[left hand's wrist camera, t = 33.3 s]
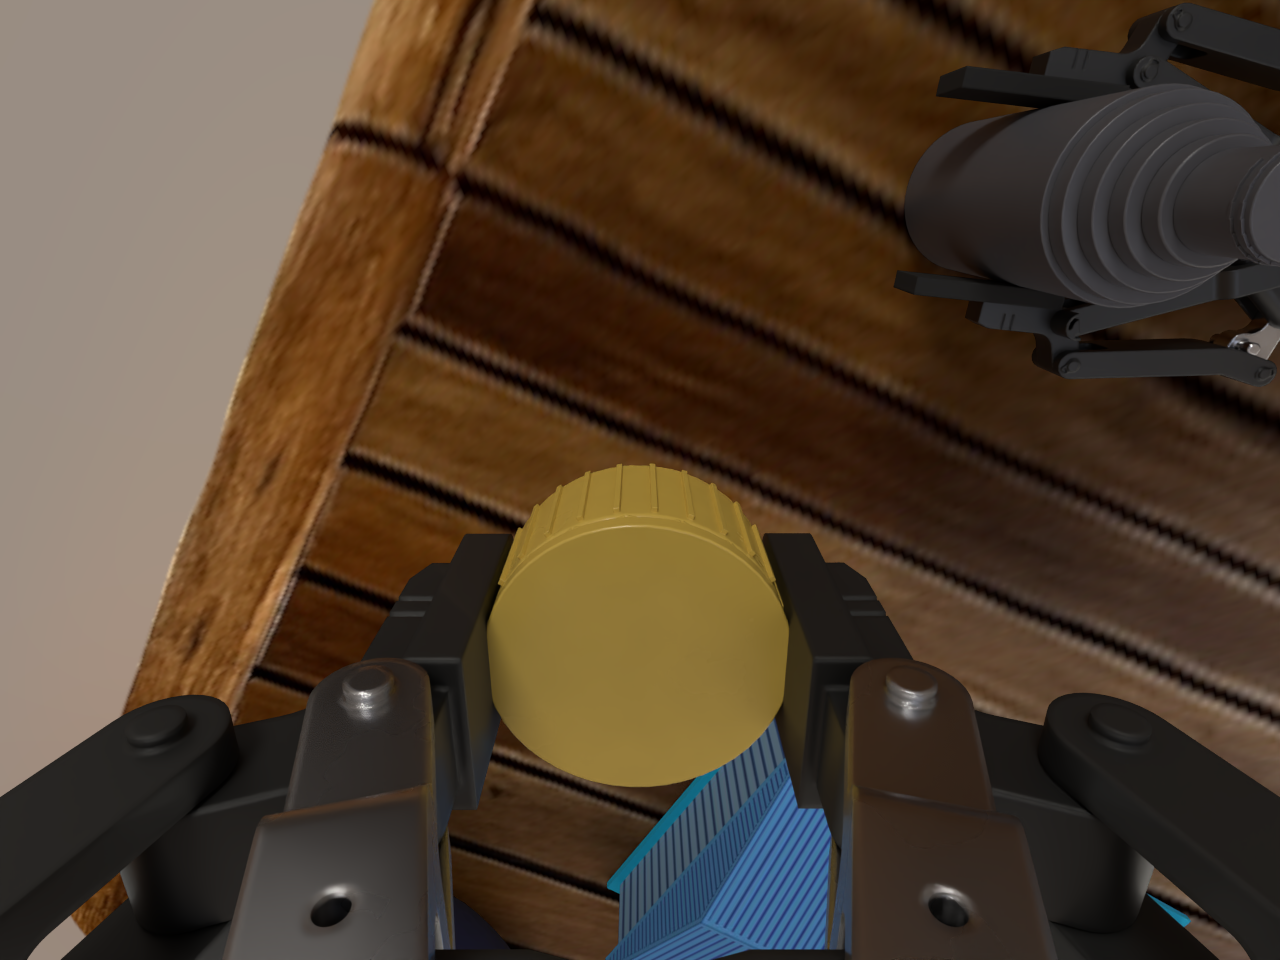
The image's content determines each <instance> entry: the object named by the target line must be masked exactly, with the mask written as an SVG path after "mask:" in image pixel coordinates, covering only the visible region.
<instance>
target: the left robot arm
mask: <svg viewBox="0 0 1280 960" xmlns="http://www.w3.org/2000/svg"><path fill="white" fill-rule="evenodd" d="M513 541H514V539H513V536H512V534H466V535H465V536H464V537H463V539H462V541H461V543H460V545H459V547H458V549H457V551H456V553H455V555H454V557H453V559H452V561H451V563H432V564H430V565H429V566H427V567H426V568H425V569H423V570H422V571H420V572H419V573H418V574H416V575H415V576H413V577H412V578H410V579H409V581H408V583H407V584H406V586H405V588H404V590H403V591H402V593H401V595H400V596H399V601H396V603H395V605H394V606H393V608H392V610H391V611H390V617H387V618H386V620H385V622H384V623H383V625H382V627H381V628H380V630H379V632H378V633H377V635H376V637H375V638H374V640H373V642H372V643H371V645H370V647H369V648H368V650H367V652H366V653H365V655H364V657H363V659H362V660H361V662H357V663H354V664H351V665H349V666H346V667H344V668H342V669H340V670H338V671H336V672H334V673H332V674H331V675H329V676H328V677H326V678H325V679H324V680H322V681H321V682H320V683H319V684H318V685H317V686H316V687H315V688H314V690H313V691H312V693H311V694H310V697H309V699H308V702H307V707H306V709H304V710H301V711H298V712H295V713H292V714H288V715H284V716H280V717H275V718H270V719H265V720H261V721H256V722H251V723H246V724H241V725H236V726H233V722H232V718H231V714H230V711H229V708H228V707H227V705H226V704H225V703H224V702H222V701H221V700H219V699H217V698H214V697H211V696H205V695H183V696H177V697H171V698H167V699H163V700H159V701H156V702H153V703H150V704H147V705H144V706H142V707H139V708H137V709H135V710H133V711H131V712H129V713H127V714H125V715H123V716H121V717H120V718H118V719H116V720H115V721H113V722H112V723H110V724H109V725H107V726H106V727H104V728H103V729H101V730H100V731H98V732H97V733H95V734H94V735H92V736H91V737H89V738H88V739H86V740H85V741H83V742H82V743H80V744H79V745H77V746H76V747H74V748H73V749H71V750H70V751H68V752H67V753H65V754H64V755H62V756H61V757H59V758H58V759H57V760H55V761H54V762H52V763H50V764H49V765H47V766H46V767H44V768H43V769H42V770H40V771H39V772H37V773H36V774H34V775H33V776H31V777H30V778H28V779H27V780H25V781H24V782H22V783H21V784H19V785H18V786H16V787H15V788H13V789H12V790H10V791H9V792H7V793H6V794H4V795H3V796H1V797H0V960H27V959H28V957H29V956H30V954H31V953H32V952H33V950H34V949H35V948H36V946H37V945H38V944H39V943H40V942H41V941H42V940H43V939H44V938H45V937H46V936H47V935H48V934H49V933H50V932H51V931H53V930H54V929H55V928H56V927H57V926H58V925H59V924H61V923H62V922H63V921H64V920H65V919H66V918H68V917H69V916H70V915H71V914H72V913H73V912H74V911H76V910H77V909H78V908H79V907H80V906H81V905H83V904H84V903H85V902H86V901H87V900H88V899H89V898H91V897H92V896H93V895H94V894H95V893H96V892H97V891H99V890H100V889H101V888H102V887H103V886H104V885H106V884H107V883H108V882H109V881H110V880H111V879H112V878H114V877H115V876H116V875H117V874H118V873H119V872H120V874H121V877H122V880H123V883H124V885H125V888H126V891H127V894H128V897H129V898H128V899H127V900H126V901H125V902H123V903H122V904H121V905H120V906H119V907H118V908H117V909H116V910H115V911H114V912H112V913H111V914H110V915H109V916H108V917H107V918H106V919H105V920H104V921H103V922H101V923H100V924H99V925H98V926H97V927H96V928H95V929H94V930H93V931H92V932H91V933H89V934H88V935H87V936H86V937H85V938H84V939H83V940H82V941H81V942H80V943H79V944H77V945H76V946H75V947H74V948H73V949H72V950H71V951H70V952H69V953H68V954H67V955H65V956H64V957H63V958H62V959H61V960H567V959H564V958H560V957H556V956H552V955H549V954H545V953H541V952H537V951H534V950H530V949H455V930H454V908H453V887H452V866H451V849H450V841H449V833H448V825H447V823H448V820H449V817H450V814H451V810H477V807H478V803H479V799H480V796H481V792H482V788H483V784H484V780H485V777H486V773H487V769H488V765H489V761H490V758H491V754H492V750H493V746H494V742H495V739H496V735H497V731H498V727H499V723H500V720H501V716H500V715H499V713H498V711H497V710H496V708H495V706H494V703H493V699H492V689H491V677H490V666H489V654H488V643H487V622H488V619H489V617H490V614H491V611H492V608H493V605H494V603H495V600H496V597H497V594H498V591H499V589H500V586H501V585H499V584H498V582H499V579H500V576H501V573H502V571H503V568H504V565H505V562H506V560H507V557H508V554H509V551H510V549H511V546H512V543H513ZM762 542H763V545H764V548H765V551H766V553H767V556H768V559H769V562H770V565H771V567H772V570H773V573H774V576H775V579H776V581H775V583H776V586H777V588H778V591H779V594H780V597H781V600H782V603H783V606H784V607H783V609H784V612H785V614H786V617H787V620H788V624H789V638H788V650H787V662H786V674H785V685H784V697H783V703H782V705H781V707H780V709H779V711H778V712H777V714H776V716H775V719H776V723H777V727H778V731H779V735H780V739H781V743H782V747H783V751H784V755H785V759H786V763H787V766H788V770H789V774H790V778H791V782H792V786H793V790H794V794H795V798H796V802H797V806H798V809H823V810H824V814H825V817H826V820H827V824H828V827H829V830H830V833H831V841H830V849H829V866H828V887H827V908H826V930H825V949H750V950H746V951H743V952H739V953H735V954H731V955H728V956H724V957H720V958H716V959H713V960H1219V959H1218V958H1217V957H1216V956H1215V955H1214V954H1212V953H1211V952H1210V951H1209V950H1208V949H1207V948H1206V947H1205V946H1204V945H1203V944H1201V943H1200V942H1199V941H1198V940H1197V939H1196V938H1195V937H1194V936H1193V935H1192V934H1191V933H1189V932H1188V931H1187V930H1186V929H1185V928H1184V927H1183V926H1182V925H1181V924H1180V923H1178V922H1177V921H1176V920H1175V919H1174V918H1173V917H1172V916H1171V915H1170V914H1169V913H1168V912H1166V911H1165V910H1164V909H1163V908H1162V907H1161V906H1160V905H1159V904H1158V903H1157V902H1155V901H1154V900H1153V899H1152V898H1151V897H1150V896H1149V895H1148V894H1147V893H1146V890H1147V887H1148V884H1149V881H1150V878H1151V875H1152V873H1153V870H1154V867H1155V868H1156V869H1157V870H1158V871H1159V872H1161V873H1162V874H1163V875H1164V876H1165V877H1166V878H1168V879H1169V880H1170V881H1171V882H1172V883H1173V884H1174V885H1176V886H1177V887H1178V888H1179V889H1180V890H1181V891H1182V892H1184V893H1185V894H1186V895H1187V896H1188V897H1189V898H1191V899H1192V900H1193V901H1194V902H1195V903H1196V904H1197V905H1199V906H1200V907H1201V908H1202V909H1203V910H1204V911H1205V912H1207V913H1208V914H1209V915H1210V916H1211V917H1212V918H1214V919H1215V920H1216V921H1217V922H1218V923H1219V924H1220V925H1222V926H1223V927H1224V928H1225V929H1226V930H1227V931H1228V932H1229V933H1230V934H1231V935H1233V936H1234V937H1235V939H1236V940H1237V941H1238V942H1239V943H1240V944H1241V946H1242V947H1243V948H1244V950H1245V951H1246V953H1247V954H1248V956H1249V958H1250V959H1251V960H1280V797H1279V796H1277V795H1276V794H1274V793H1273V792H1271V791H1270V790H1268V789H1267V788H1265V787H1264V786H1262V785H1261V784H1259V783H1258V782H1256V781H1255V780H1253V779H1252V778H1250V777H1249V776H1247V775H1246V774H1244V773H1243V772H1241V771H1240V770H1238V769H1237V768H1235V767H1234V766H1233V765H1231V764H1230V763H1228V762H1227V761H1225V760H1224V759H1222V758H1221V757H1219V756H1218V755H1216V754H1215V753H1213V752H1212V751H1210V750H1209V749H1207V748H1206V747H1204V746H1203V745H1201V744H1200V743H1198V742H1197V741H1195V740H1194V739H1192V738H1191V737H1189V736H1188V735H1186V734H1185V733H1183V732H1182V731H1180V730H1179V729H1177V728H1176V727H1174V726H1173V725H1171V724H1170V723H1168V722H1167V721H1165V720H1164V719H1162V718H1161V717H1159V716H1157V715H1156V714H1154V713H1152V712H1150V711H1148V710H1146V709H1144V708H1142V707H1140V706H1138V705H1135V704H1133V703H1130V702H1128V701H1124V700H1121V699H1118V698H1114V697H1110V696H1106V695H1100V694H1093V693H1073V694H1067V695H1063V696H1061V697H1058V698H1057V699H1055V700H1053V701H1052V703H1051V704H1050V705H1049V707H1048V710H1047V713H1046V718H1045V722H1044V726H1042V725H1037V724H1033V723H1028V722H1023V721H1018V720H1013V719H1008V718H1004V717H999V716H994V715H990V714H986V713H982V712H979V711H976V710H974V707H973V702H972V699H971V697H970V694H969V693H968V691H967V690H966V688H965V687H964V686H963V685H962V684H961V683H960V682H959V681H958V680H956V679H955V678H954V677H952V676H951V675H949V674H948V673H946V672H944V671H942V670H940V669H938V668H936V667H934V666H931V665H929V664H926V663H923V662H919V661H915V660H913V658H912V656H911V655H910V653H909V651H908V649H907V648H906V646H905V644H904V643H903V641H902V639H901V638H900V636H899V634H898V632H897V631H896V629H895V627H894V626H893V624H892V622H891V620H890V619H889V617H888V616H886V612H885V610H884V608H883V607H882V605H881V603H880V602H879V601H877V596H876V595H875V593H874V591H873V590H872V588H871V586H870V584H869V583H868V581H867V579H866V578H865V577H863V576H862V575H860V574H859V573H858V572H856V571H855V570H853V569H852V568H851V567H849V566H848V565H846V564H845V563H825V561H824V559H823V557H822V555H821V553H820V551H819V549H818V547H817V545H816V543H815V541H814V539H813V537H812V535H811V534H810V533H765V534H764V536H763V540H762Z"/></svg>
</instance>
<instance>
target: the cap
mask: <svg viewBox="0 0 1280 960" xmlns="http://www.w3.org/2000/svg"><path fill="white" fill-rule="evenodd" d="M775 581H776V579H775V576H774V573H773V570H772V567H771V565H770V562H769V559H768V556H767V553H766V551H765V548H764V545H763V542H762V539H761V536H760V534H759V531H758V528H757V526H756V525H753V526H752V525H751V524H750V522H749V520H748V519H747V518H746V516H745V515H744V514H743V513H742V510H741V507H740V504H739V503H738V502H737V501H736V502H735V503H733V502H732V501H731V500H730V499H729V498H728V497H727V496H725V495H724V494H723V493H721V492H720V491H719V490H717V487H716V485H715V484H713V483H711V484H710V485H709V484H707V483H705V482H703V481H702V480H700V479H698V478H695V477H693V476H690V475H688V474H687V471H685V470H682V471H681V472H679V471H675V470H673V469H667V468H661V467H655V464H650V466H632V465H630V466H622V464H618V465H617V467H616V468H609V469H605V470H601V471H598V472H594V473H591V472H590V471H588V472H586V473H585V476H583V477H580V478H578V479H576V480H574V481H573V482H571V483H569V484H567V485H565V486H564V487H563V486H562V485H560V486H558V487H557V489H556V492H555V493H554V494H552V495H551V496H550V497H548V498H547V499H546V500H545V501H544V502H543V503H542V504H541V505H540V506H539V505H538V504H536V505H535V506H534V508H533V511H532V514H531V517H530V518H529V519H528V521H527V522H526V524H525V525H524V527H523V529H521V528H518V530H517V532H516V535H515V538H514V541H513V543H512V546H511V549H510V551H509V554H508V557H507V560H506V562H505V565H504V568H503V571H502V573H501V576H500V579H499V582H498V584H499V585H501V586H500V589H499V591H498V594H497V597H496V600H495V603H494V605H493V608H492V611H491V614H490V617H489V619H488V622H487V643H488V654H489V666H490V677H491V689H492V699H493V703H494V706H495V708H496V710H497V711H498V713H499V715H500V716H501V718H502V720H503V721H504V723H505V724H506V725H507V727H508V728H509V729H510V730H511V732H512V733H513V734H514V735H515V737H516V738H518V739H519V740H520V741H521V742H522V743H523V744H524V745H525V746H526V747H527V748H528V749H529V750H531V751H532V752H533V753H535V754H536V755H537V756H539V757H540V758H541V759H543V760H544V761H546V762H548V763H550V764H551V765H553V766H555V767H556V768H558V769H560V770H563V771H565V772H567V773H569V774H572V775H574V776H577V777H580V778H583V779H586V780H590V781H593V782H598V783H603V784H608V785H614V786H624V787H652V786H661V785H669V784H673V783H678V782H683V781H687V780H690V779H693V778H696V777H699V776H702V775H704V774H707V773H709V772H711V771H713V770H715V769H717V768H720V767H721V766H723V765H725V764H726V763H728V762H730V761H731V760H733V759H735V758H736V757H737V756H739V755H740V754H741V753H743V752H744V751H745V750H746V749H748V748H749V747H750V746H751V745H752V744H753V743H754V742H755V741H756V740H757V739H758V738H759V737H760V736H761V735H762V734H763V733H764V731H765V730H766V729H767V728H768V726H769V725H770V724H771V722H772V721H773V719H774V718H775V716H776V714H777V712H778V711H779V709H780V707H781V705H782V703H783V697H784V685H785V674H786V662H787V650H788V638H789V624H788V620H787V617H786V614H785V612H784V609H783V607H784V606H783V603H782V600H781V597H780V594H779V591H778V588H777V586H776V583H775Z"/></svg>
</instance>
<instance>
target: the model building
mask: <svg viewBox="0 0 1280 960" xmlns="http://www.w3.org/2000/svg"><path fill="white" fill-rule="evenodd" d="M830 841H831V833H830V830H829V827H828V824H827V820H826V817H825V814H824V810H823V809H798V806H797V802H796V798H795V794H794V790H793V786H792V782H791V778H790V774H789V770H788V766H787V763H786V759H785V755H784V751H783V747H782V743H781V739H780V735H779V731H778V727H777V723H776V719H775V718H774V719H773V721H772V722H771V724H770V725H769V726H768V728H767V729H766V730H765V731H764V733H763V734H762V735H761V736H760V737H759V738H758V739H757V740H756V741H755V742H754V743H753V744H752V745H751V746H750V747H749V748H748V749H746V750H745V751H744V752H743V753H741V754H740V755H739V756H737V757H736V758H735V759H733V760H731V761H730V762H728V763H726V764H725V765H723V766H721V767H720V768H717V769H715V770H713V771H711V772H709V773H707V774H704V775H702V776H699V777H696V779H695V780H694V781H693V782H692V783H691V784H690V786H689V787H688V788H687V789H686V790H685V791H684V793H683V794H682V795H681V796H680V797H679V799H678V800H677V801H676V802H675V803H674V804H673V806H672V807H671V808H670V809H669V810H668V811H667V813H666V814H665V815H664V816H663V817H662V819H661V820H660V821H659V822H658V823H657V824H656V826H655V827H654V828H653V829H652V830H651V831H650V833H649V834H648V835H647V836H646V837H645V839H644V840H643V841H642V842H641V843H640V844H639V846H638V847H637V848H636V849H635V850H634V851H633V853H632V854H631V855H630V856H629V857H628V859H627V860H626V861H625V862H624V863H623V864H622V866H621V867H620V868H619V869H618V870H617V871H616V873H615V874H614V875H613V876H612V877H611V878H610V880H609V881H608V882H607V888H608V889H610V890H613V891H615V892H617V893H619V894H620V905H619V939H618V945H617V946H616V947H615V948H614V949H613V951H612V952H611V953H610V954H609V955H608V956H607V957H606V958H605V960H713V959H716V958H720V957H724V956H728V955H731V954H735V953H739V952H743V951H746V950H750V949H825V930H826V908H827V887H828V866H829V849H830ZM1148 895H1149V894H1148ZM1149 896H1150V897H1151V898H1152V899H1153V900H1154V901H1155V902H1157V903H1158V904H1159V905H1160V906H1161V907H1162V908H1163V909H1164V910H1165V911H1166V912H1168V913H1169V914H1170V915H1171V916H1172V917H1173V918H1174V919H1175V920H1176V921H1177V922H1178V923H1180V924H1181V925H1182V926H1183V927H1185V926H1186V925H1187V924H1188V923H1190V922H1191V921H1190V919H1189V918H1188V917H1187V915H1185V914H1183V913H1181V912H1179V911H1178V910H1176V909H1174V908H1172V907H1170V906H1169V905H1167V904H1165V903H1163V902H1161V901H1160V900H1158V899H1156V898H1154V897H1152V896H1151V895H1149Z"/></svg>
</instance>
